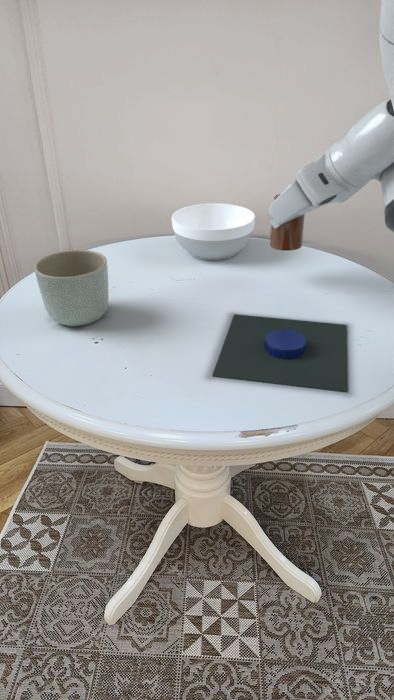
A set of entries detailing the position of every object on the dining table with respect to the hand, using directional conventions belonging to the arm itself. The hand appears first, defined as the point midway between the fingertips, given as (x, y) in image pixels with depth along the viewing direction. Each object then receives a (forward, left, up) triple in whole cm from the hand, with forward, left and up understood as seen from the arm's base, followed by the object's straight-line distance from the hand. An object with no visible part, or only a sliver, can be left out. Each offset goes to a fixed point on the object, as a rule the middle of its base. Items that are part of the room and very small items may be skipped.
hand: (285, 219), depth 103 cm
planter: (+35, +23, -13) cm, 44 cm away
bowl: (+17, -13, -13) cm, 25 cm away
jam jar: (0, 0, -5) cm, 5 cm away
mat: (-3, +27, -13) cm, 30 cm away
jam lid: (-3, +27, -11) cm, 29 cm away
